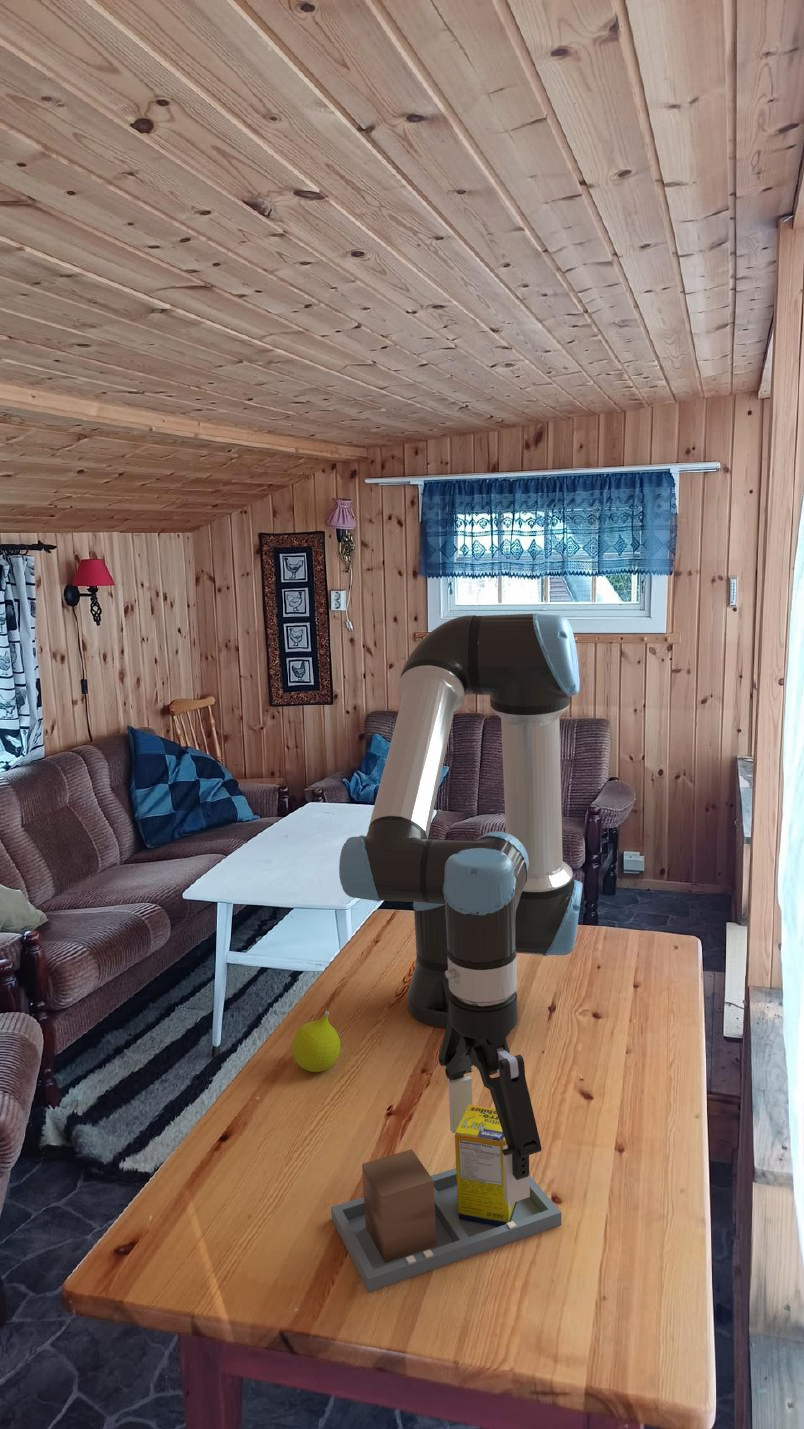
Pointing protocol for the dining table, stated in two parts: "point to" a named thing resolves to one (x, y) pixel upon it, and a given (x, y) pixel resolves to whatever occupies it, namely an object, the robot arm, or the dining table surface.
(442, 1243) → the slot tray
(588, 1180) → the dining table surface
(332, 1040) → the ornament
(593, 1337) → the dining table surface
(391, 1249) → the walnut block
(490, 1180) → the supplement box
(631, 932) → the dining table surface
